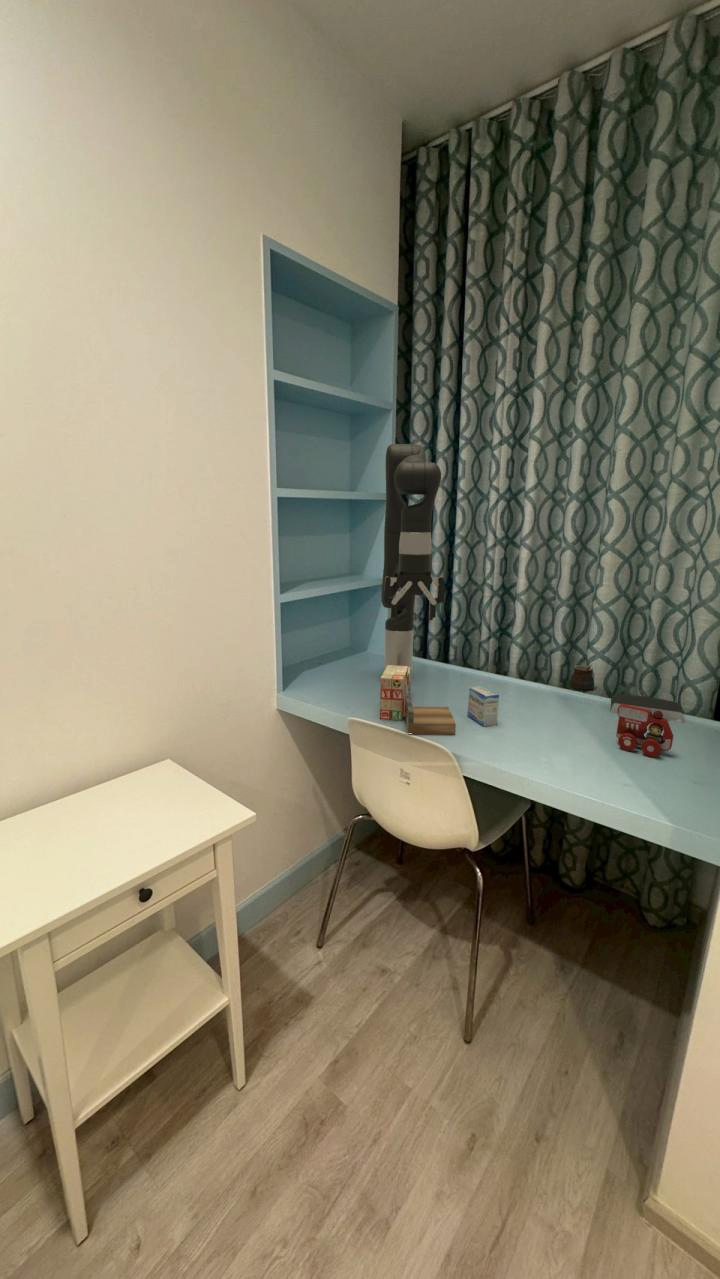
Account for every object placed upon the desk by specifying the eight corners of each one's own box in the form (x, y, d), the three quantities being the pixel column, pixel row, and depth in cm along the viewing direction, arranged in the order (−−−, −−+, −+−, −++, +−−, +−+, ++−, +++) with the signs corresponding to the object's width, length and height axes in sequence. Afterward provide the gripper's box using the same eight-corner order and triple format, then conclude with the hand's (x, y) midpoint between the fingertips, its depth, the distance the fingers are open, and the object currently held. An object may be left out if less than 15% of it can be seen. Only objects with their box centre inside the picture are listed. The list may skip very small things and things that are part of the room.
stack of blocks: (390, 694, 167) (391, 656, 164) (410, 696, 166) (411, 657, 163) (379, 719, 147) (380, 676, 144) (402, 721, 146) (403, 678, 143)
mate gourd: (582, 687, 176) (585, 657, 173) (599, 694, 169) (602, 663, 166) (564, 689, 173) (567, 659, 171) (580, 696, 166) (583, 665, 164)
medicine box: (466, 716, 149) (468, 687, 147) (480, 714, 151) (481, 685, 149) (483, 727, 142) (485, 696, 140) (497, 724, 144) (499, 694, 142)
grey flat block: (683, 728, 144) (686, 714, 143) (609, 716, 151) (610, 703, 150) (679, 713, 155) (681, 700, 154) (609, 703, 162) (611, 690, 161)
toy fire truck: (667, 761, 123) (674, 719, 121) (610, 747, 131) (615, 707, 128) (672, 751, 129) (678, 710, 126) (616, 738, 136) (621, 699, 134)
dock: (404, 716, 149) (405, 696, 147) (448, 717, 149) (449, 696, 147) (408, 734, 137) (408, 712, 136) (455, 734, 137) (456, 712, 135)
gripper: (443, 550, 129) (440, 617, 133) (384, 550, 129) (382, 616, 133) (448, 553, 121) (444, 623, 125) (385, 552, 122) (383, 622, 125)
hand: (412, 619), depth 129 cm, fingers open, 8 cm apart
